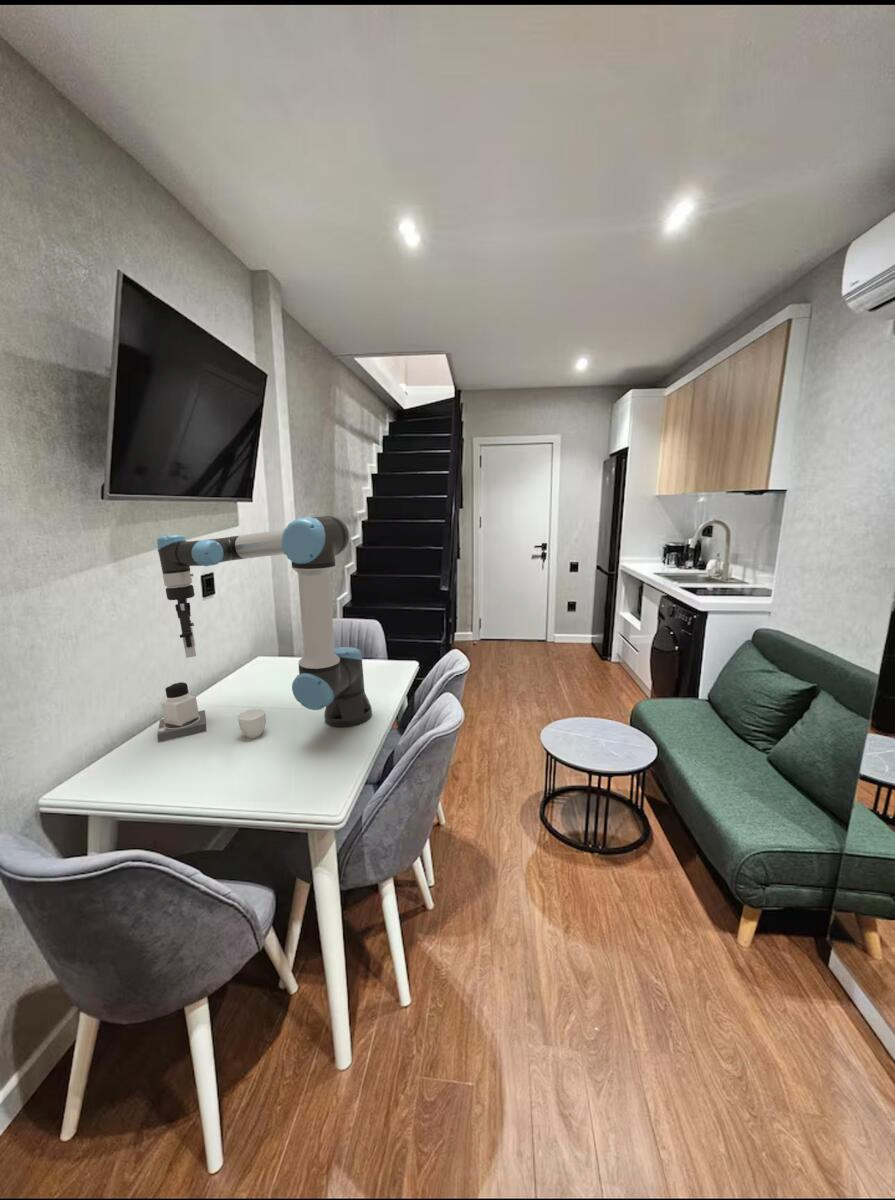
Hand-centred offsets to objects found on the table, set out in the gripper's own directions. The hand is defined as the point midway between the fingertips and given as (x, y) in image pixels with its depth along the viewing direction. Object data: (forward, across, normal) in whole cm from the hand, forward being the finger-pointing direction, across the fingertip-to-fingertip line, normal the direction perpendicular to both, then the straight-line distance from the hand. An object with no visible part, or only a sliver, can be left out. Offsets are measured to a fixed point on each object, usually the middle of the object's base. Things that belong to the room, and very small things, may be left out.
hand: (191, 651), depth 150 cm
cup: (+25, -18, -14) cm, 33 cm away
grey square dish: (+24, -1, +6) cm, 25 cm away
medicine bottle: (+22, -1, +6) cm, 22 cm away
